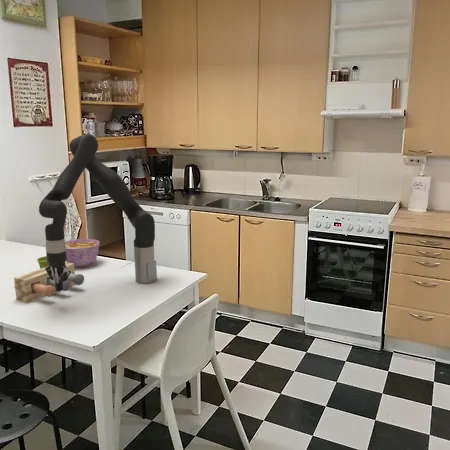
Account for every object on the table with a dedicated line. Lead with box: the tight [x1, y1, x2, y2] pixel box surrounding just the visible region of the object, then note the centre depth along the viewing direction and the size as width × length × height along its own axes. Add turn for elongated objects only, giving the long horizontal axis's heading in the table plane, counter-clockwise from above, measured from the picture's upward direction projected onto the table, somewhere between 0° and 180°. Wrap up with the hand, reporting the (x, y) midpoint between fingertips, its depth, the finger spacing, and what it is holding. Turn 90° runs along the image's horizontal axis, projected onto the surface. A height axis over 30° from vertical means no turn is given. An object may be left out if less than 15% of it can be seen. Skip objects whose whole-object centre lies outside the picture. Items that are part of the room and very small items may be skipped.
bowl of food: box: [65, 238, 100, 268], centre depth 241 cm, size 20×20×12 cm
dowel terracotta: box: [31, 283, 56, 298], centre depth 194 cm, size 11×5×5 cm, turn 60°
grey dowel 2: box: [67, 273, 85, 286], centre depth 207 cm, size 11×5×5 cm, turn 60°
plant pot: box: [36, 255, 49, 269], centre depth 226 cm, size 9×9×9 cm
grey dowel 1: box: [47, 277, 71, 292], centre depth 201 cm, size 11×5×5 cm, turn 60°
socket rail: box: [13, 261, 76, 304], centre depth 204 cm, size 7×26×10 cm, turn 150°
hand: (59, 290), depth 188 cm, fingers closed
